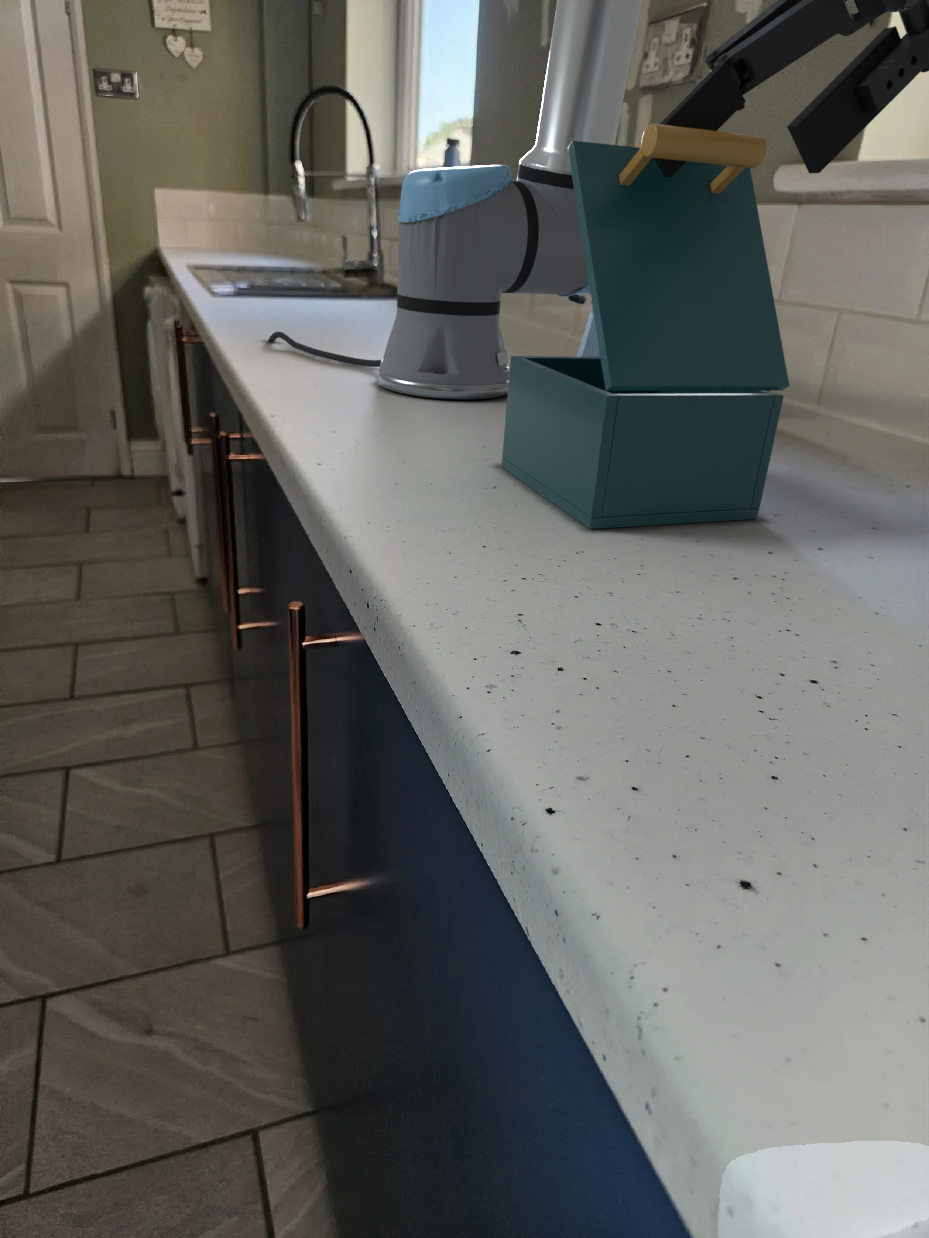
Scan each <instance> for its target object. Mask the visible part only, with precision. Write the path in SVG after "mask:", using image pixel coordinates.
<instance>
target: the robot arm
mask: <svg viewBox="0 0 929 1238" xmlns="http://www.w3.org/2000/svg"><path fill="white" fill-rule="evenodd" d="M852 1H853V2H854V4H855V7H856V9H857V12H855V13H851V12H850V11H849V8H848V5H847V3H850V2H852ZM642 4H643V0H556V7H555V12H554V20H553V27H552V31H551V32H552V33H551V40H550V47H549V53H548V60H547V65H546V66H547V67H546V74H545V78H544V79H545V80H544V87H543V93H542V101H541V107H540V114H539V120H538V126H537V133H536V139H535V140H536V141H535V144H534V146H533V147H532V149H530V150H529V151H528V152H527V153H526V154H525V155H523V156H522V157H521V158H520V159H519V162H518V169H517V176H516V180H513V175H512V173H511V172H512V171H511V168H510V166H509V165H507V164H490V165H471V166H452V167H436V168H435V167H433V168H422V169H417V170H413V171H410V172H409V173H408V174H407V175H406V176H405V177H404V179H403V181H402V183H401V190H400V191H401V192H400V202H399V209H398V211H399V212H398V214H397V221H398V246H397V247H398V249H397V250H398V252H397V256H398V257H397V290H396V291H397V293H396V294H397V295H396V315H395V319H394V322H393V326H392V328H391V331H390V334H389V336H388V340H387V344H386V346H385V350H384V354H383V358H382V359H366V358H365V359H364V358H357V357H353V356H348V355H342V354H338V353H334V352H330V351H325V350H323V349H318V348H315V347H312V346H310V345H306V344H305V343H304V344H303V343H300V342H297V341H296V340H295V339H293V338H292V337H290V336H289V335H288V334H286V333H285V332H283V331H275V332H273V333H272V334H271V335H269V337H268V339H267V343H269V344H270V343H271V344H272V343H275V342H276V340H277V339H281V340H283V341H284V342H286V343H287V344H288V345H289V346H291V347H292V348H294V349H297V350H299V351H302V352H304V353H307V354H310V355H313V356H316V357H320V358H323V359H328V360H331V361H335V362H336V361H337V362H340V363H345V364H350V365H356V366H361V367H368V368H369V367H370V368H379V369H378V384H379V386H381V387H382V388H384V389H387V390H389V391H391V392H396V393H399V394H405V395H410V396H415V397H422V398H432V399H442V400H443V399H444V400H482V399H483V400H485V399H492V398H499V397H503V396H505V395H508V383H509V372H510V366H508V365H509V364H510V361H509V356H508V351H507V350H506V349H505V343H504V340H503V339H504V338H503V334H502V329H501V325H500V314H501V313H500V312H501V302H502V301H501V300H502V294H530V295H532V294H533V295H556V296H559V297H563V298H566V297H568V296H572V295H591V294H590V288H589V281H588V275H587V269H586V262H585V256H584V250H583V243H582V237H581V230H580V224H579V218H578V211H577V205H576V199H575V192H574V186H573V179H572V173H571V167H570V160H569V154H568V147H569V146H570V144H571V143H572V141H582V142H591V143H601V144H610V145H616V139H617V134H618V128H619V124H620V118H621V114H622V109H623V108H622V107H623V103H624V98H625V92H626V87H627V81H628V76H629V72H630V66H631V60H632V57H633V51H634V45H635V40H636V36H637V30H638V25H639V20H640V15H641V9H642ZM897 12H898V14H899V17H900V20H901V23H902V25H903V28H904V31H905V34H904V35H903V36H902V37H901V35H900V33H899V30H898V27H897V26H890V27H885V28H883V29H882V31H880V32H879V33H878V35H876V36H875V37H874V38H873V39H872V40H871V41H870V43H869V44H867V46H865V47H864V48H863V49H862V51H861V52H859V53H858V54H857V55H856V56H855V57H854V58H853V59H852V61H850V63H849V64H847V66H846V67H845V68H844V69H843V70H841V72H840V73H839V74H837V76H836V77H834V79H833V80H832V81H831V82H829V84H827V86H826V87H824V88H823V90H822V91H821V92H820V93H818V94H817V96H815V98H814V99H813V100H812V101H811V102H810V103H809V104H808V105H807V106H806V107H805V108H804V109H803V110H802V111H801V112H800V113H799V114H798V115H796V116H795V118H794V119H793V120H792V121H791V122H790V123H789V124H788V125H787V126H786V127H787V130H788V131H789V134H790V136H791V138H792V141H793V142H794V145H795V147H796V149H797V151H798V153H799V155H800V157H801V159H802V161H803V164H804V166H805V168H806V170H807V172H808V174H820V173H821V172H822V171H824V169H825V168H826V167H828V165H830V163H831V162H832V161H833V160H834V159H835V158H836V157H838V155H839V154H840V153H841V152H842V151H843V150H844V149H845V148H847V146H848V145H850V143H851V142H852V141H853V140H854V139H855V138H856V137H857V136H858V135H859V134H860V133H861V132H862V131H863V130H865V128H866V127H868V125H869V124H870V123H872V121H873V120H874V119H875V118H876V117H877V116H878V115H879V114H880V113H881V112H883V110H884V109H885V108H886V107H887V106H889V104H890V103H891V102H892V101H893V100H894V99H896V97H897V96H898V95H900V94H901V92H902V91H903V90H904V89H905V88H906V87H908V85H909V84H910V83H912V81H913V80H915V78H916V77H917V76H918V75H919V74H920V73H927V72H929V0H776V1H775V2H773V3H772V4H771V5H770V6H768V7H767V8H766V9H765V10H763V11H762V12H760V14H758V15H757V16H755V17H754V18H753V19H752V20H751V21H749V22H748V23H747V24H746V25H744V26H743V27H742V28H740V30H738V31H737V32H736V33H734V34H733V35H732V36H731V37H729V38H728V39H727V40H725V41H724V42H723V43H722V44H721V45H719V46H718V47H717V48H715V49H714V50H712V51H710V52H709V54H708V55H706V56H705V59H704V63H705V65H706V67H707V69H708V71H709V73H708V74H707V75H706V76H705V77H704V78H703V79H702V80H701V81H700V83H698V84H697V85H696V86H695V87H694V88H693V89H692V90H691V91H690V92H689V93H688V95H686V96H685V97H684V98H683V99H682V100H681V102H679V103H678V105H676V107H674V108H673V109H672V111H671V112H669V114H668V115H667V116H665V117H664V119H663V120H662V121H661V122H660V123H659V124H662V125H670V126H679V127H687V128H696V129H704V130H712V131H719V129H720V128H721V127H723V125H724V124H726V123H727V121H728V120H729V119H730V118H731V117H732V116H733V115H734V114H735V113H736V112H739V111H742V110H743V109H745V108H746V99H745V97H744V95H746V94H747V93H749V92H750V91H752V90H753V89H754V88H756V87H758V86H759V85H761V84H762V83H764V82H765V81H767V80H769V79H770V78H771V77H773V76H775V75H776V74H778V73H779V72H781V71H782V70H784V69H785V68H787V67H788V66H790V65H792V64H793V63H795V62H796V61H798V60H799V59H801V58H802V57H804V56H805V55H807V54H808V53H810V52H811V51H813V50H814V49H816V48H818V47H819V46H821V45H822V44H824V43H825V42H827V41H828V40H830V39H831V38H833V37H834V36H836V35H841V36H843V37H849V36H851V35H854V34H855V33H856V32H857V31H859V30H861V29H862V28H864V27H865V26H867V25H868V24H870V23H872V22H873V21H875V20H877V19H878V18H879V17H880V16H883V15H884V14H885V13H897ZM654 160H655V161H656V163H657V165H658V166H659V168H660V170H661V172H662V173H663V175H664V177H672V176H673V175H674V174H675V173H676V172H677V171H678V170H679V169H680V168H681V167H682V166H683V165H684V164H685V163H686V161H678V160H668V159H659V158H654Z"/></svg>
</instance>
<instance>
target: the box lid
mask: <svg viewBox="0 0 929 1238" xmlns="http://www.w3.org/2000/svg"><path fill="white" fill-rule="evenodd" d="M767 149H768V147H767V141H766V139H765V138H764V137H763V136H762V135H756V134H755V135H754V134H745V133H737V132H728V131H727V132H726V131H720V130H717V131H712V130H704V129H696V128H687V127H679V126H670V125H662V124H660V123H650V124H648V125H647V126H646V127H645V129H644V131H643V134H642V137H641V144H640V147H636V146H628V145H617V144H615V145H610V144H601V143H591V142H582V141H572V143H571V144H570V146H569V147H568V154H569V160H570V167H571V173H572V179H573V186H574V192H575V199H576V205H577V211H578V218H579V224H580V230H581V237H582V243H583V250H584V256H585V262H586V269H587V275H588V281H589V288H590V294H589V295H590V301H591V300H592V307H593V313H594V320H595V326H596V332H597V339H598V345H599V351H600V358H601V364H602V370H603V377H604V383H605V390H606V391H771V392H775V391H777V392H778V391H779V392H780V391H781V392H782V391H784V390H785V389H787V388H789V387H790V381H789V377H788V370H787V365H786V359H785V354H784V347H783V343H782V337H781V336H782V335H781V332H780V326H779V320H778V315H777V309H776V303H775V299H774V292H773V288H772V281H771V275H770V270H769V267H768V266H769V265H768V260H767V254H766V248H765V243H764V238H763V232H762V226H761V221H760V214H759V210H758V209H759V208H758V203H757V199H756V193H755V188H754V181H753V177H752V176H753V175H752V171H751V170H752V169H756V168H758V167H759V166H760V165H762V163H763V161H764V160H765V157H766V155H767ZM654 158H659V159H668V160H678V161H686V163H685V164H684V165H683V166H682V167H681V168H680V169H679V170H678V171H677V172H676V173H675V174H674V175H673V176H672V177H664V175H663V173H662V172H661V170H660V168H659V166H658V165H657V163H656V161H655V160H654Z"/></svg>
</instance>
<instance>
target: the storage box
mask: <svg viewBox="0 0 929 1238" xmlns="http://www.w3.org/2000/svg"><path fill="white" fill-rule="evenodd" d="M509 360H510V361H509V370H510V372H509V383H508V393H507V394H506V395H507V397H506V407H505V409H506V410H505V421H504V432H503V433H504V434H503V442H502V443H503V444H502V458H501V468H502V469H505V470H506V471H507V472H509V473H510V474H511V475H512V476H514V477H516V478H517V479H518V480H520V481H521V482H522V483H524V484H525V485H527V486H528V487H530V488H531V489H532V490H534V491H535V492H537V493H538V494H540V495H541V496H542V497H544V498H545V499H546V500H548V501H549V502H551V503H552V504H554V505H555V506H557V507H558V508H560V509H561V510H562V511H563V512H565V513H566V514H568V515H569V516H571V517H572V518H574V519H575V520H576V521H577V522H579V523H580V524H582V525H583V526H584V527H586V528H588V529H589V530H598V529H613V528H615V529H616V528H632V527H647V526H648V527H649V526H661V525H662V526H663V525H664V526H665V525H678V524H679V525H680V524H694V523H695V524H696V523H697V524H698V523H711V522H713V523H714V522H728V521H729V522H730V521H739V520H740V521H743V520H757V519H758V516H759V511H760V509H761V504H762V499H763V494H764V491H765V484H766V480H767V475H768V472H769V471H768V470H769V466H770V462H771V458H772V452H773V447H774V444H775V439H776V434H777V429H778V425H779V421H780V415H781V411H782V406H783V401H784V395H783V394H781V393H777V392H775V391H606V390H605V383H604V377H603V370H602V364H601V358H600V357H577V356H555V355H554V356H549V355H547V356H546V355H545V356H542V355H510V359H509Z"/></svg>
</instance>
